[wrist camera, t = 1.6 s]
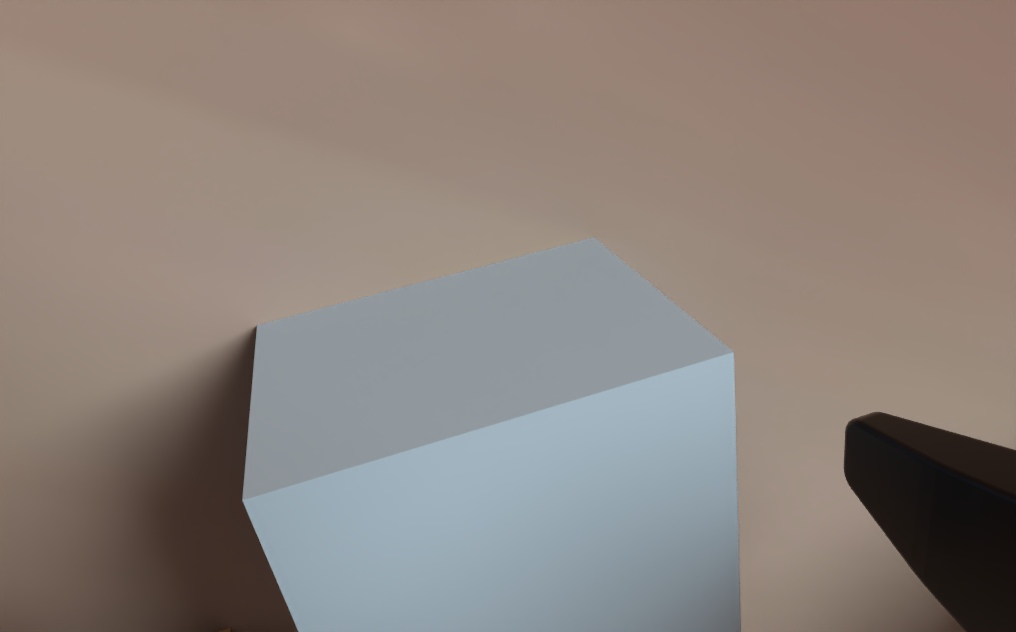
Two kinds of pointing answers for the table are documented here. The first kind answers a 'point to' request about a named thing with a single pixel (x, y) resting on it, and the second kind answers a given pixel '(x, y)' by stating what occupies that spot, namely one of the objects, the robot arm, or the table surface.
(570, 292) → the top block
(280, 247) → the table surface
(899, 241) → the table surface
